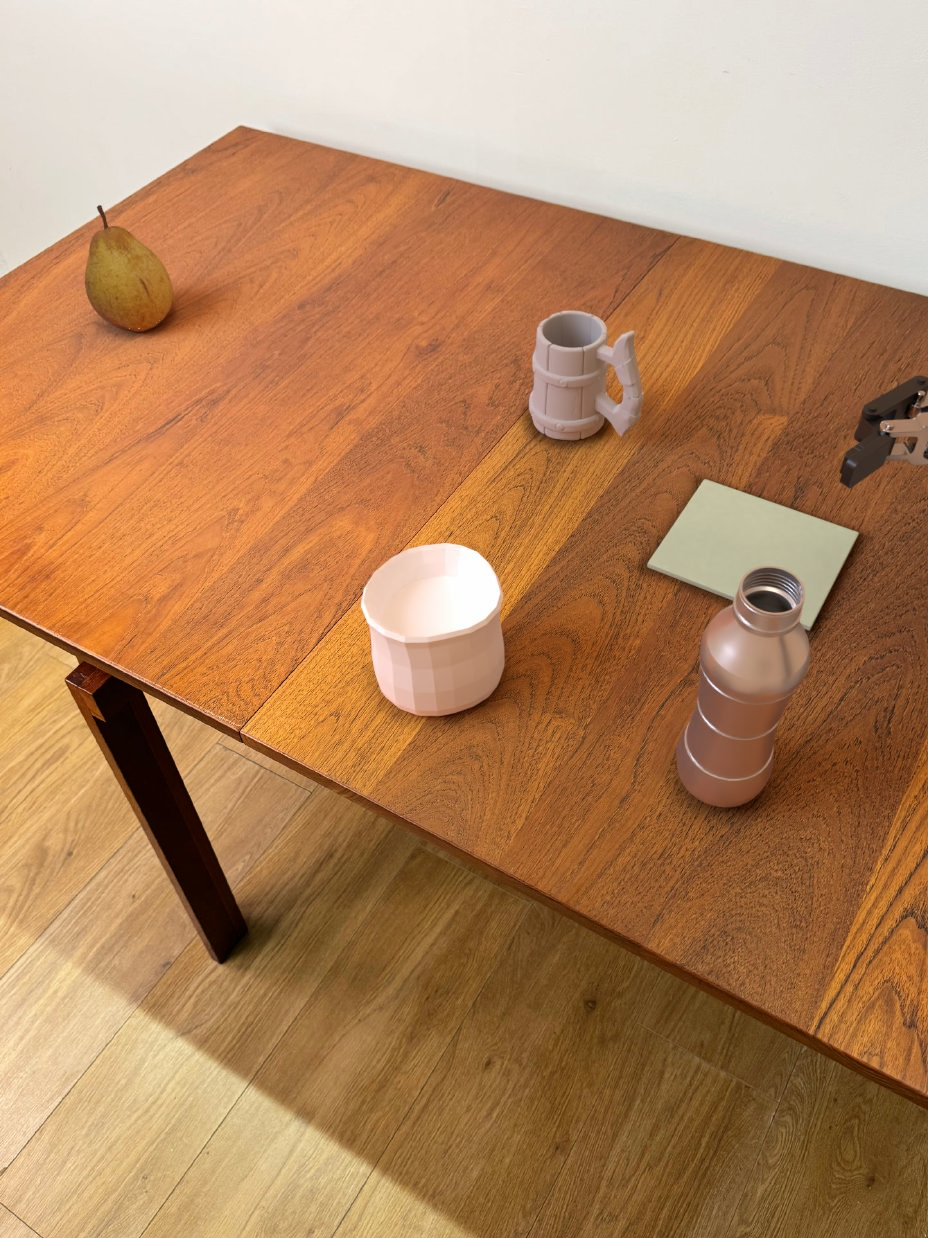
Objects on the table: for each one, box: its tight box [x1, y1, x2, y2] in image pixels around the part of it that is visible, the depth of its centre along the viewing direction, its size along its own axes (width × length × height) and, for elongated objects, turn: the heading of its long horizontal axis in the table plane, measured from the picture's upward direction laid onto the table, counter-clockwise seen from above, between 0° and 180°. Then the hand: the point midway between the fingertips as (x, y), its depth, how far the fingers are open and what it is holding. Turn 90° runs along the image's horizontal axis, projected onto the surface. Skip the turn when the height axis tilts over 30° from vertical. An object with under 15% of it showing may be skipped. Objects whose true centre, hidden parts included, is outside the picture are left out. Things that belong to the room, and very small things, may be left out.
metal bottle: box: [675, 566, 811, 808], centre depth 63 cm, size 6×7×20 cm
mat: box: [646, 478, 860, 631], centre depth 84 cm, size 14×12×1 cm
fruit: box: [84, 204, 174, 333], centre depth 107 cm, size 9×9×12 cm
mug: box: [528, 310, 645, 441], centre depth 91 cm, size 8×12×12 cm, turn 49°
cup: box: [360, 542, 506, 717], centre depth 74 cm, size 10×10×10 cm
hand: (904, 510), depth 60 cm, fingers open, 8 cm apart
